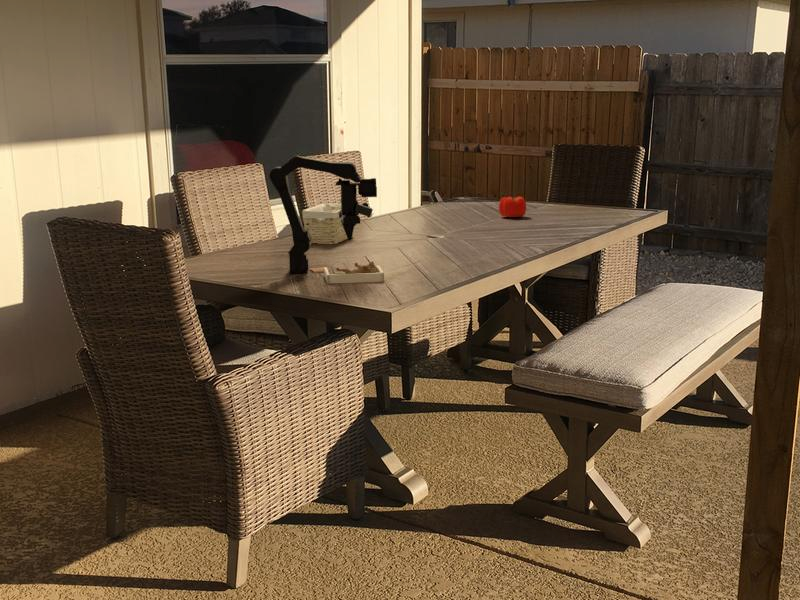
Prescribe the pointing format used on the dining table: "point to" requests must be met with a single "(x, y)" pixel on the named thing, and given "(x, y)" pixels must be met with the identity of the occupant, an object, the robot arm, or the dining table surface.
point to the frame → (354, 277)
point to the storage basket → (324, 224)
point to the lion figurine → (360, 269)
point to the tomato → (512, 206)
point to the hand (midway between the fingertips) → (349, 240)
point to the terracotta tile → (318, 269)
